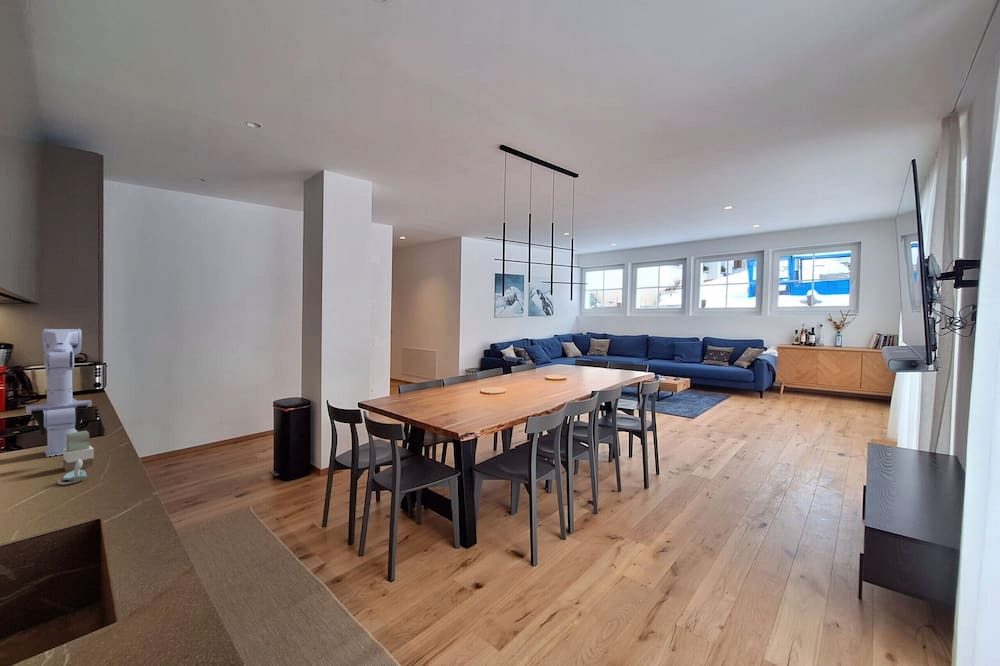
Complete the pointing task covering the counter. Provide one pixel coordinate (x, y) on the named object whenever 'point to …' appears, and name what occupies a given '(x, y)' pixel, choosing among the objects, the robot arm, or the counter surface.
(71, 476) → the pacifier
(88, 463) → the base slab
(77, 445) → the green block
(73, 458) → the top slab
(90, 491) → the counter surface
